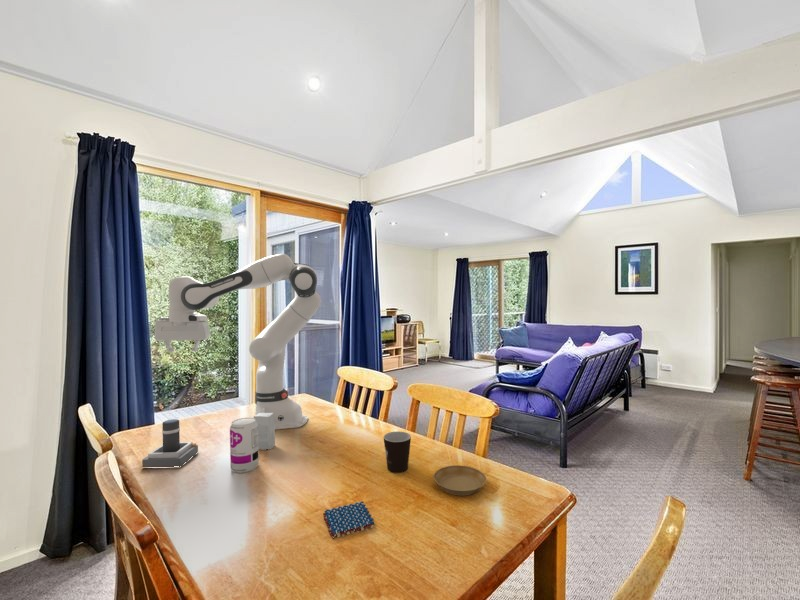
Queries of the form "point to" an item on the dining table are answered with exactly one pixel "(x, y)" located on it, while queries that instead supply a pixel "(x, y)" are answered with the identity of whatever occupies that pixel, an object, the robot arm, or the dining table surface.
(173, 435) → the lens
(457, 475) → the plant saucer
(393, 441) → the coffee mug
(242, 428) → the supplement can
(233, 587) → the dining table surface
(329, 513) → the woven mat
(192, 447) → the dock
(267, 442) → the skincare box
